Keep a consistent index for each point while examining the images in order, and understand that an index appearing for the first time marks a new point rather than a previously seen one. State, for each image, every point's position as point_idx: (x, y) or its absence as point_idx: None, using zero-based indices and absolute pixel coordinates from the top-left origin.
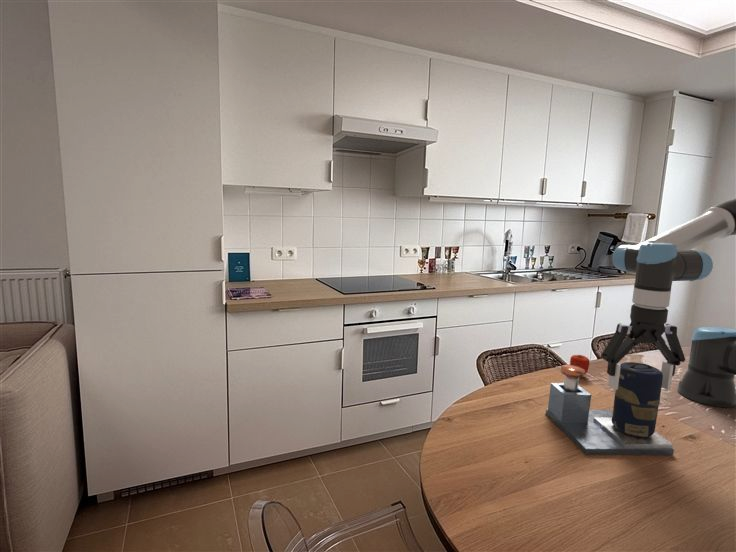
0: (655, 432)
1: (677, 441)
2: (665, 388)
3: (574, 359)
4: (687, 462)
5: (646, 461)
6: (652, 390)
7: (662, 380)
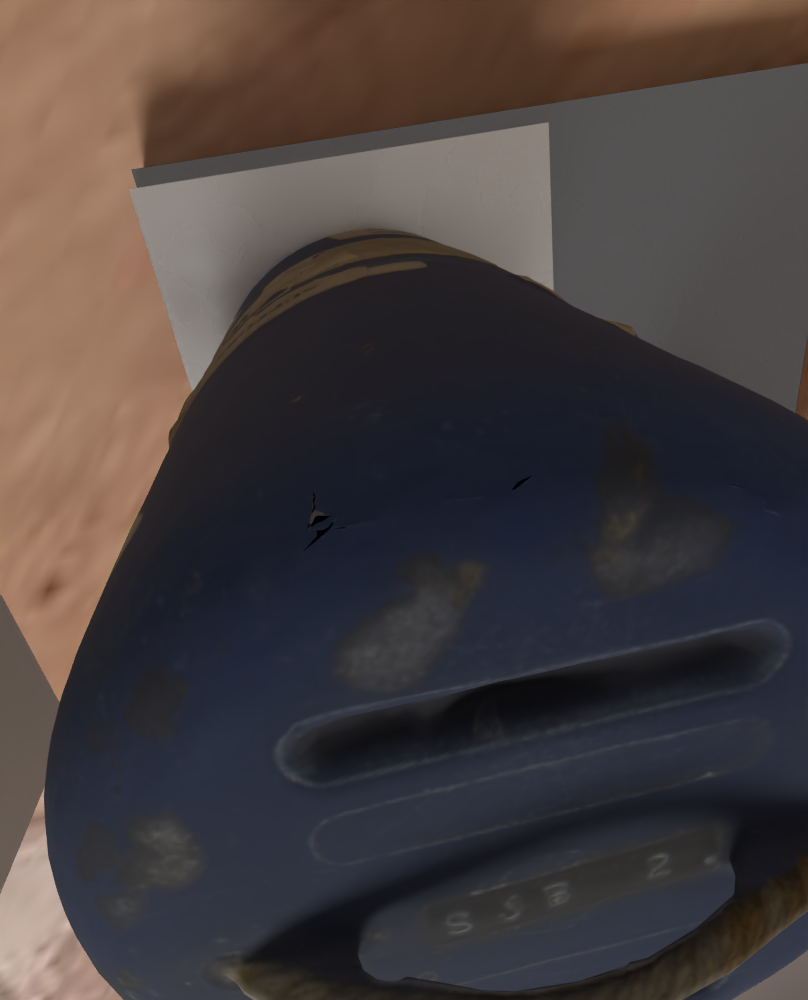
0: (196, 378)
1: (23, 398)
2: (15, 628)
3: None
4: (66, 67)
5: (405, 28)
6: (410, 308)
7: (11, 768)
